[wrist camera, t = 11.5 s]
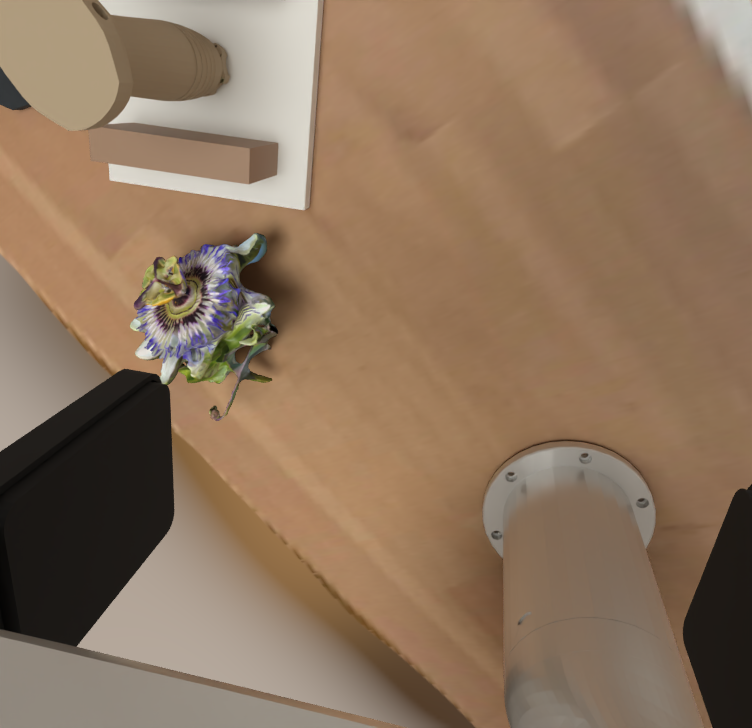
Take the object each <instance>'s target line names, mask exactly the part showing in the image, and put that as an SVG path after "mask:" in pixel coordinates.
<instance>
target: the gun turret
mask: <svg viewBox="0 0 752 728" xmlns="http://www.w3.org/2000/svg"><path fill="white" fill-rule="evenodd" d="M0 105H2V106H5V107H7V108H9V109H12V110H23V109H26V108H29V107H32V106H31V105H30V104H29V103H28V102H27V101H26V100H25V99H24V98H23V97H22V95H21V94H20V93H19V91H18V90H17V89H16V87H15V86H14V85H13V84H12V82H11V81H10V80H9V78H8V77H7V76H6V74H5V73H4V71H3V70H2V68H1V67H0Z"/></svg>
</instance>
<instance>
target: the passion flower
mask: <svg viewBox="0 0 752 728" xmlns="http://www.w3.org/2000/svg"><path fill="white" fill-rule="evenodd" d="M266 251H267V241H266V238H265V236H264V235H261V234H258V233H254V234H253V235H252V236H251V237H250V238H249V239H247V240H246V241H244V242H243V243H242V244H240V245H239V246H237V245H233V246H230V245H226V244H222V245H220V246H214V245H208V244H205V245H203V246H202V247H201V248H200V251H195V250H192V251H191V252H190V253H188V254H187V255H186V256H185V257H180V258H179V261H178V259H177V257H176V256H172V257H169V258H168V259H167V260H166V261H165V259H164V258H162V257H157V258H156V259H155V261H154V263H153V265H151V266H149V267H148V268H147V270H146V272H145V276H144V278H143V283H142V287H143V290H142V291H141V293H140V295H139V298H138V299H137V300H136V301H135V303H134V308H135V309H136V310H138V312H137V314H138V317H136V318H135V319H134V320H133V321H132V322H131V324H130V328H132V329H133V330H135V331H140V332H145V336H146V338H145V340H144V341H143V342H142V344H141V345H140V346H139V348H138V349H137V350H136V352H135V355H136V356H137V357H138V358H141V359H144V360H154V359H158V358H159V359H161V358H163V363H162V369H161V373H162V375H161V376H160V379H161V382H162V384H166V385H169V384H170V383H171V382H172V381H173V379H174V378H175V377H176V375H177V373H178V372H180V373H182V374H184V375H185V376H186V378H187V382H188V383H197V382H200V381H209V382H216V383H218V384H220V383H221V382H222V381H223V380H225V378H226V376H227V375H228V374H229V372H230V371H232V372H234V373H235V375H236V376H237V377H238V380H237V383H236V385H235V388H234V390H233V391H232V396H231V399H230V401H229V403H228V405H227V407H226V410H225V413H224V415H223V416H222V417H220V413H219V411H218V410H217V407H216V406H213V407H212V408H211V409H210V411H209V413H210V415H211V419H214V420H215V421H219V420H221V419H222V418H223V417H224V416H226V415H227V414H228V411H229V409H230V407H231V405H232V402H233V400H234V398H235V395H236V392H237V390H238V386H239V383H240V382H241V381H242V380H244V379H247V380H253V381H259V382H262V383H265V382H270V381H272V378H268V377H265V376H262V375H258V374H255V373H253V372H251V371H250V370H249V368H248V365H249V362H250V360H251V359H252V358H253V357H254V356H255V355H257V354H259V353H260V352H262V351H265V350H267V349H269V350H270V349H271V346H270V345H269V344H267V343H268V341H269V339H270V338H271V337H274V336H276V335H277V334H278V330H277V328H276V326H274V325H273V324H271V321H270V316H271V311H272V309H273V308H275V304H274V302H273V301H272V299H271V298H270V297H268V296H267V295H263V294H261V293H257V292H254V291H251V290H249V289H247V288H245V287H244V286H243V285H242V284H241V283H240V279H239V274H240V272H241V271H242V269H243V268H244V267H245V266H246V265H248V264H250V263H254V262H257V261H259V260H260V259H261V258H262V257H263V256H264V255H265V253H266ZM259 325H264V326H265V327H259ZM252 329H253V331H254V334H253V335H250V332H251V331H252ZM266 333H268V334H266ZM264 334H266V335H264ZM247 345H249V346H251V348H250V350H249V353H248V355H247V357H246V359H245V361H244V362H243V363H242V364H240V363H238V362H237V361H236V359H235V352H236V351H237V350H238V349H240V348H242V347H244V346H247ZM183 362H186V364H187V365H186V366H185V365H184V364H183Z"/></svg>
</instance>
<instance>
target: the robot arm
mask: <svg viewBox="0 0 752 728" xmlns="http://www.w3.org/2000/svg"><path fill="white" fill-rule="evenodd" d="M171 437H172V436H171V409H170V391H169V388H168V386H167V385H166V384H162V382H161V379H160V377H159V376H158V375H157V374H151V373H146V372H140V371H135V370H129V369H123V370H121V371H119V372H118V373H116V374H115V375H113V376H112V377H110V378H109V379H107V380H106V381H105V382H103V383H101V384H100V385H98V386H97V387H95V388H94V389H93V390H91V391H89V392H88V393H87V394H85V395H84V396H82V397H81V398H79V399H78V400H76V401H75V402H73V403H72V404H70V405H69V406H67V407H66V408H65V409H63V410H61V411H60V412H58V413H57V414H55V415H54V416H52V417H51V418H49V419H48V420H47V421H45V422H44V423H42V424H41V425H39V426H38V427H36V428H35V429H33V430H32V431H31V432H29V433H27V434H26V435H24V436H23V437H21V438H20V439H18V440H17V441H15V442H14V443H13V444H11V445H10V446H8V447H7V448H5V449H4V450H2V451H1V452H0V728H406V727H402V726H398V725H394V724H390V723H386V722H382V721H378V720H374V719H370V718H366V717H362V716H358V715H354V714H350V713H346V712H342V711H338V710H334V709H330V708H325V707H321V706H317V705H313V704H309V703H305V702H301V701H297V700H293V699H289V698H285V697H281V696H277V695H273V694H269V693H264V692H260V691H256V690H253V689H249V688H244V687H240V686H236V685H232V684H228V683H224V682H219V681H215V680H211V679H207V678H203V677H199V676H195V675H190V674H186V673H182V672H178V671H174V670H170V669H166V668H162V667H157V666H153V665H149V664H145V663H141V662H137V661H133V660H129V659H124V658H120V657H116V656H112V655H108V654H104V653H100V652H95V651H91V650H87V649H83V648H79V647H77V645H78V644H79V643H80V641H81V640H82V639H83V638H84V636H85V635H86V634H87V633H88V631H89V630H90V629H91V628H92V626H93V625H94V624H95V623H96V621H97V620H98V619H99V618H100V616H101V615H102V614H103V613H104V611H105V610H106V609H107V608H108V606H109V605H110V604H111V603H112V601H113V600H114V599H115V598H116V596H117V595H118V594H119V592H120V591H121V590H122V589H123V588H124V586H125V585H126V584H127V583H128V581H129V580H130V579H131V578H132V576H133V575H134V574H135V573H136V571H137V570H138V569H139V568H140V566H141V565H142V563H144V561H145V560H146V559H147V558H148V556H149V555H150V554H151V552H152V551H153V550H154V549H155V547H156V546H157V545H158V544H159V543H160V541H161V540H162V539H163V538H164V536H165V535H166V534H167V532H168V531H169V529H170V527H171V524H172V521H173V517H174V490H173V465H172V464H173V463H172V438H171ZM583 453H587V454H585V455H583ZM510 472H513V473H510ZM483 524H484V528H485V532H486V535H487V537H488V539H489V541H490V543H491V545H492V546H493V548H494V549H495V550H496V552H497V553H498V554H499V555H500V557H502V558H503V635H504V699H505V707H506V713H507V717H508V721H509V724H510V727H511V728H704V725H703V723H702V720H701V717H700V714H699V711H698V708H697V705H696V702H695V699H694V696H693V693H692V690H691V687H690V684H689V681H688V678H687V675H686V672H685V669H684V666H683V663H682V659H681V656H680V653H679V650H678V647H677V644H676V641H675V638H674V635H673V631H672V628H671V625H670V622H669V619H668V616H667V613H666V610H665V607H664V604H663V601H662V598H661V595H660V591H659V588H658V585H657V582H656V579H655V576H654V573H653V570H652V567H651V564H650V561H649V558H648V555H647V551H646V548H647V546H648V544H649V542H650V541H651V539H652V537H653V533H654V529H655V525H656V509H655V505H654V501H653V497H652V495H651V492H650V490H649V487H648V485H647V483H646V482H645V480H644V479H643V477H642V476H641V474H640V473H639V471H638V470H637V469H635V468H634V467H633V466H632V465H631V464H630V463H629V462H628V461H627V460H625V459H624V458H622V457H621V456H619V455H618V454H616V453H615V452H612V451H610V450H607V449H605V448H603V447H600V446H597V445H593V444H588V443H584V442H573V441H560V442H549V443H545V444H541V445H537V446H533V447H531V448H529V449H526V450H524V451H522V452H520V453H518V454H516V455H515V456H513V457H512V458H510V459H509V460H508V461H506V462H505V463H504V464H503V465H502V466H501V467H500V468H499V469H498V470H497V471H496V472H495V474H494V475H493V477H492V479H491V480H490V482H489V483H488V486H487V489H486V492H485V495H484V501H483ZM683 639H684V644H685V647H686V650H687V653H688V656H689V659H690V662H691V665H692V668H693V671H694V674H695V677H696V680H697V683H698V686H699V689H700V691H701V694H702V697H703V700H704V703H705V706H706V709H707V712H708V715H709V718H710V721H711V724H712V727H713V728H752V484H751V486H750V487H749V488H748V489H747V490H746V489H739V490H738V491H737V492H736V493H735V495H734V497H733V499H732V502H731V504H730V507H729V509H728V512H727V514H726V517H725V519H724V522H723V524H722V527H721V529H720V532H719V534H718V537H717V539H716V542H715V544H714V547H713V549H712V552H711V554H710V557H709V560H708V562H707V565H706V567H705V570H704V572H703V575H702V577H701V580H700V582H699V585H698V587H697V590H696V592H695V595H694V597H693V600H692V602H691V605H690V607H689V610H688V613H687V615H686V618H685V621H684V626H683Z"/></svg>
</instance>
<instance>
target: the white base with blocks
mask: <svg viewBox="0 0 752 728" xmlns="http://www.w3.org/2000/svg"><path fill="white" fill-rule="evenodd" d="M99 2H100V3H101V4H102V5H103V6H104V7H105V9H106V10H107V11H108V12H109V13H110V15H117V16H125V17H136V18H146V19H157V20H163V21H168V22H172V23H175V24H178V25H182V26H184V27H187V28H189V29H192V30H194V31H196V32H198V33H200V34H201V35H203V36H205V37H206V38H207V39H209V40H210V41H211V42H212V43H217V44H219V45H220V46H222V47H223V48H224V49H225V51H226V53H227V58H226V67H227V71H228V74H229V75H230V79H229V81H228V83H227V84H223V85H221V86H220V87H219V88H218V89H217V92H216V93H215V94H214V95H211V96H206V97H200V98H196V99H192V100H186V101H160V100H153V99H146V98H138V97H131V96H130V99H129V101H128V103H127V105H126V106H125V108H124V110H123V111H122V112H121V113H120V114H119V115H118V116H117V117H116V118H115V119H114V120H112V121H111V122H110V123H108V124H106V125H104V126H102V127H100V128H96V129H90V130H89V143H90V157H91V161H96V162H102V163H109V175H110V180H111V181H118V182H124V183H131V184H137V185H144V186H150V187H157V188H163V189H170V190H176V191H183V192H189V193H196V194H202V195H209V196H215V197H222V198H228V199H235V200H241V201H248V202H254V203H261V204H267V205H273V206H280V207H286V208H293V209H299V210H306V209H307V208H309V206H310V191H311V177H312V163H313V148H314V134H315V119H316V105H317V90H318V76H319V61H320V47H321V32H322V18H323V3H324V0H99Z"/></svg>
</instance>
